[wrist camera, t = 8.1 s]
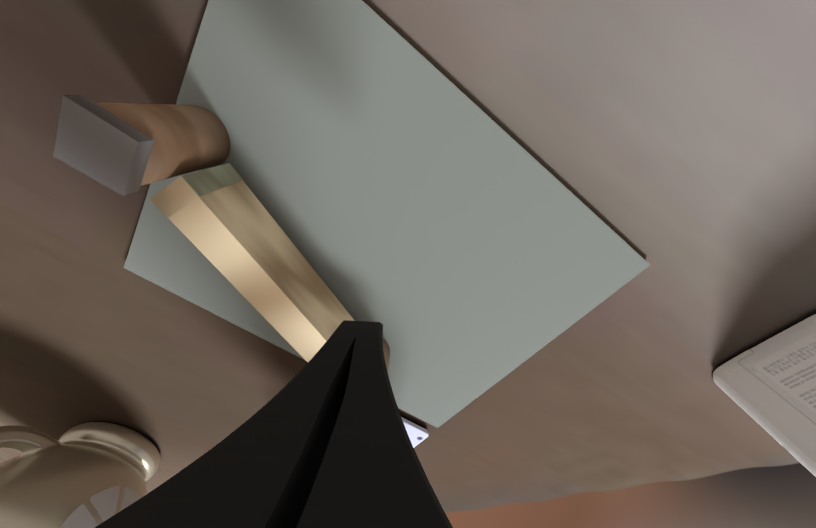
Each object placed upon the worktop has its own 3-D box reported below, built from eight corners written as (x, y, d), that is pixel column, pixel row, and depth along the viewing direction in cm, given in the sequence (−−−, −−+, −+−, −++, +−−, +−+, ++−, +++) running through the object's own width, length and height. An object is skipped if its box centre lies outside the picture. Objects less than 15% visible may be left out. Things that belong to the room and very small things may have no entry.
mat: (437, 423, 27) (437, 427, 26) (129, 264, 20) (123, 267, 19) (645, 261, 19) (650, 264, 18) (248, -103, 12) (243, -110, 11)
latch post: (223, 176, 17) (129, 206, 11) (171, 142, 16) (43, 158, 11) (243, 130, 16) (149, 139, 10) (187, 91, 15) (53, 79, 9)
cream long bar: (363, 331, 21) (353, 371, 17) (339, 341, 21) (325, 382, 18) (229, 162, 16) (181, 175, 12) (202, 182, 16) (148, 199, 13)
